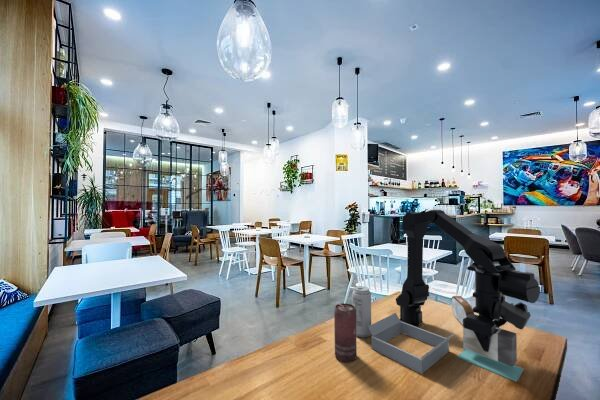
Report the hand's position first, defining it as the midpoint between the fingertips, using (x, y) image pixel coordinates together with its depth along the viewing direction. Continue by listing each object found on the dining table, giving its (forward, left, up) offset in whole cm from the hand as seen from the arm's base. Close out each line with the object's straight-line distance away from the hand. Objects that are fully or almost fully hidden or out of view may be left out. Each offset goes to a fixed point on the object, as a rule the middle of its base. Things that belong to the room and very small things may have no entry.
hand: (488, 348), depth 71 cm
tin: (-14, +21, -4) cm, 26 cm away
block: (0, 0, -2) cm, 2 cm away
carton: (-17, -10, -4) cm, 20 cm away
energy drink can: (-32, -13, -4) cm, 35 cm away
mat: (0, 0, -4) cm, 4 cm away
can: (-27, -27, -4) cm, 38 cm away
